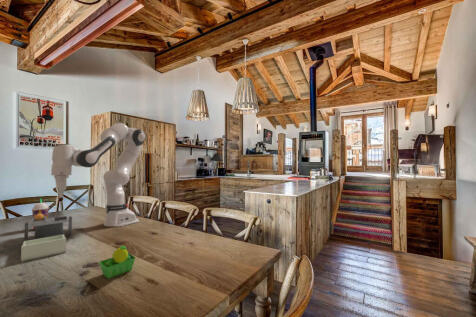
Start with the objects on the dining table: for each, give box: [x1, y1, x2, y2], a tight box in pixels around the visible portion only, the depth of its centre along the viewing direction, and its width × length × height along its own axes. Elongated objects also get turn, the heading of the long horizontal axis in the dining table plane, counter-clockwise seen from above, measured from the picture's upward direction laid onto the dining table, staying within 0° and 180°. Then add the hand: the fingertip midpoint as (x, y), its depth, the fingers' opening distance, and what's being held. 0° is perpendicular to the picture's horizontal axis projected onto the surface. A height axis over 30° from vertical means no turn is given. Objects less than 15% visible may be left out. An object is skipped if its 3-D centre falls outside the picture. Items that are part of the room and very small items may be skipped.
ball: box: [35, 214, 44, 221], centre depth 130 cm, size 4×4×4 cm
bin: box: [20, 233, 67, 263], centre depth 106 cm, size 16×16×7 cm
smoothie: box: [31, 198, 50, 231], centre depth 142 cm, size 8×8×20 cm
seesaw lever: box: [28, 215, 69, 228], centre depth 124 cm, size 16×28×4 cm, turn 42°
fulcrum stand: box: [23, 215, 73, 242], centre depth 124 cm, size 20×4×11 cm, turn 132°
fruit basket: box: [98, 245, 136, 279], centre depth 87 cm, size 11×9×11 cm
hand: (60, 196), depth 120 cm, fingers open, 8 cm apart
